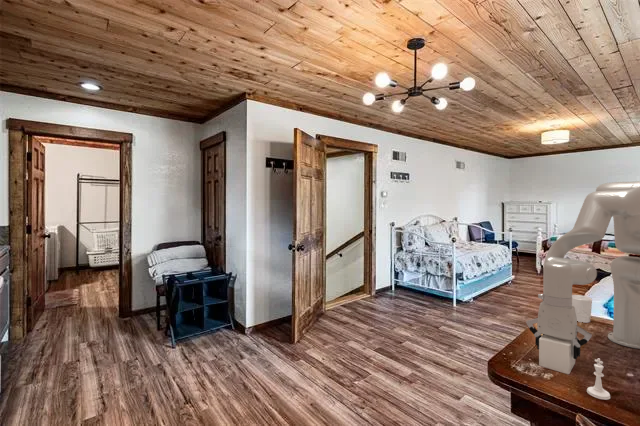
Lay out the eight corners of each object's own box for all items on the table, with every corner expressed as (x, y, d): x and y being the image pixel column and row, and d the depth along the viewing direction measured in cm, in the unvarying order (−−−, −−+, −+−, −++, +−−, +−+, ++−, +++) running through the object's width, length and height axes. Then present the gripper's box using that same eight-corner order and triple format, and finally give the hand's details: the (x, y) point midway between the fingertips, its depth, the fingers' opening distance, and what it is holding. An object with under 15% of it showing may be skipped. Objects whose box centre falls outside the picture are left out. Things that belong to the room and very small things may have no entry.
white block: (546, 355, 113) (546, 329, 113) (575, 362, 107) (575, 336, 107) (539, 365, 106) (539, 338, 106) (568, 374, 101) (569, 346, 100)
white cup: (596, 323, 139) (596, 300, 139) (574, 322, 141) (575, 299, 140) (585, 317, 147) (585, 295, 146) (565, 316, 148) (565, 294, 148)
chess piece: (603, 401, 87) (604, 364, 87) (582, 391, 92) (583, 356, 91) (614, 396, 89) (614, 360, 89) (593, 387, 94) (593, 352, 93)
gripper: (523, 297, 110) (523, 348, 110) (590, 309, 97) (589, 366, 98) (529, 293, 115) (529, 341, 115) (593, 303, 102) (593, 357, 103)
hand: (557, 352), depth 107 cm, fingers open, 9 cm apart
